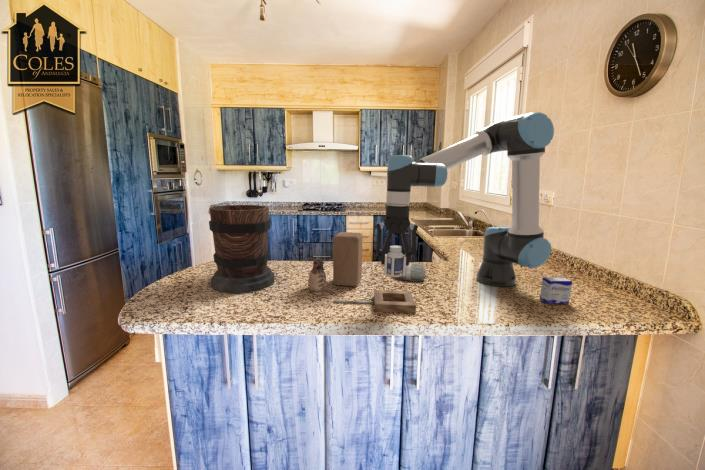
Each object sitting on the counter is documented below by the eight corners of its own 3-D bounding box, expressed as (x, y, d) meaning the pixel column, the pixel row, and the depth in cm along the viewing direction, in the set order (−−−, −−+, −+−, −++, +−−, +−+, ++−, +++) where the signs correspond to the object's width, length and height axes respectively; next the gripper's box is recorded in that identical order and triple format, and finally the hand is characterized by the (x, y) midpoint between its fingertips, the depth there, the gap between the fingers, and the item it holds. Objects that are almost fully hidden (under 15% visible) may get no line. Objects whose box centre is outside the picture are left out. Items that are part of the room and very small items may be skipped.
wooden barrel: (204, 294, 116) (198, 211, 111) (221, 270, 145) (217, 203, 139) (272, 291, 121) (270, 210, 115) (276, 268, 149) (274, 203, 144)
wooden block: (357, 287, 126) (358, 237, 122) (332, 285, 128) (332, 235, 124) (361, 279, 136) (362, 232, 132) (338, 277, 138) (338, 231, 134)
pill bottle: (403, 273, 110) (405, 245, 108) (400, 278, 105) (402, 249, 103) (388, 272, 112) (389, 244, 110) (384, 276, 107) (385, 247, 105)
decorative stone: (425, 276, 143) (426, 262, 142) (424, 283, 133) (425, 269, 132) (396, 273, 146) (396, 260, 145) (392, 280, 136) (393, 266, 135)
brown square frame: (410, 297, 117) (410, 291, 116) (415, 312, 104) (416, 305, 103) (335, 295, 118) (335, 288, 117) (331, 310, 105) (331, 302, 104)
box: (547, 304, 112) (550, 281, 111) (539, 299, 117) (542, 276, 115) (569, 304, 113) (572, 280, 111) (560, 299, 117) (563, 276, 116)
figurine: (330, 287, 126) (330, 257, 124) (321, 293, 120) (320, 261, 118) (314, 284, 129) (314, 255, 127) (304, 289, 123) (304, 259, 121)
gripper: (424, 204, 108) (420, 272, 112) (369, 203, 108) (366, 270, 113) (428, 206, 100) (424, 278, 104) (369, 205, 101) (366, 276, 105)
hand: (394, 274), depth 108 cm, fingers closed on pill bottle, 5 cm apart
